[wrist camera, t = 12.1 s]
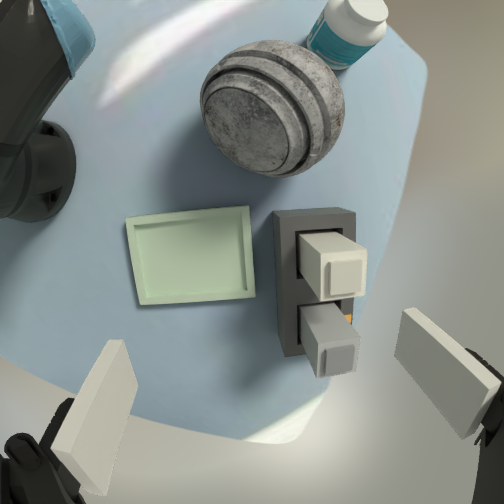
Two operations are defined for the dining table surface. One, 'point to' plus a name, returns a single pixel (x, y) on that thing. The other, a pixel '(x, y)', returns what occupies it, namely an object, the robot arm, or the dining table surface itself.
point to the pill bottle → (347, 31)
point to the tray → (192, 255)
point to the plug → (327, 339)
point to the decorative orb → (273, 107)
